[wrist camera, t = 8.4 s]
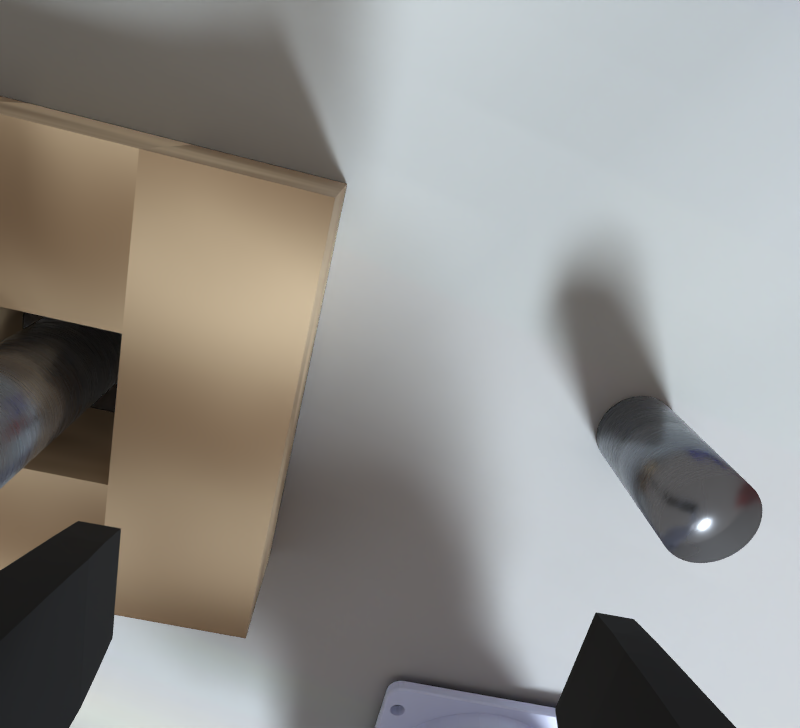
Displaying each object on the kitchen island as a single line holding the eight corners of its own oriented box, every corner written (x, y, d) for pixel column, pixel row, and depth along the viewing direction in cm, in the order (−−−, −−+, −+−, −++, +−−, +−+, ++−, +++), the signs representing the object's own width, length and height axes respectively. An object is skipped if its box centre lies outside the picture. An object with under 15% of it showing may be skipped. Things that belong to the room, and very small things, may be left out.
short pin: (654, 475, 19) (732, 572, 15) (584, 456, 19) (642, 549, 15) (689, 408, 18) (781, 490, 14) (616, 387, 18) (688, 465, 14)
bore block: (269, 555, 20) (245, 638, 17) (-117, 480, 19) (-224, 553, 16) (347, 183, 16) (335, 197, 13) (-141, 60, 15) (-292, 40, 12)
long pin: (132, 389, 18) (-51, 572, 11) (48, 366, 18) (-202, 537, 10) (146, 313, 17) (-41, 453, 10) (58, 288, 17) (-203, 411, 9)
